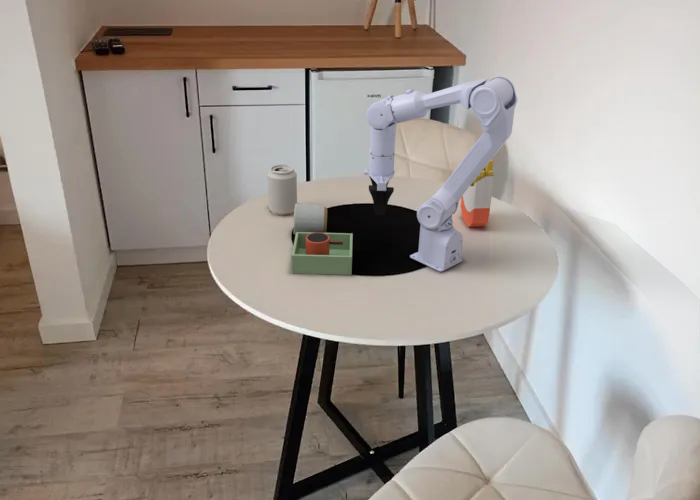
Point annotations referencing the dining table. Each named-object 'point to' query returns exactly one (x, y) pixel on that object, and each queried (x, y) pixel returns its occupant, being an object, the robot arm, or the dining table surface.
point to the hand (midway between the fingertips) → (379, 207)
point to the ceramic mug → (310, 218)
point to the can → (282, 189)
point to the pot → (320, 244)
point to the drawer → (323, 256)
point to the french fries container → (478, 198)
